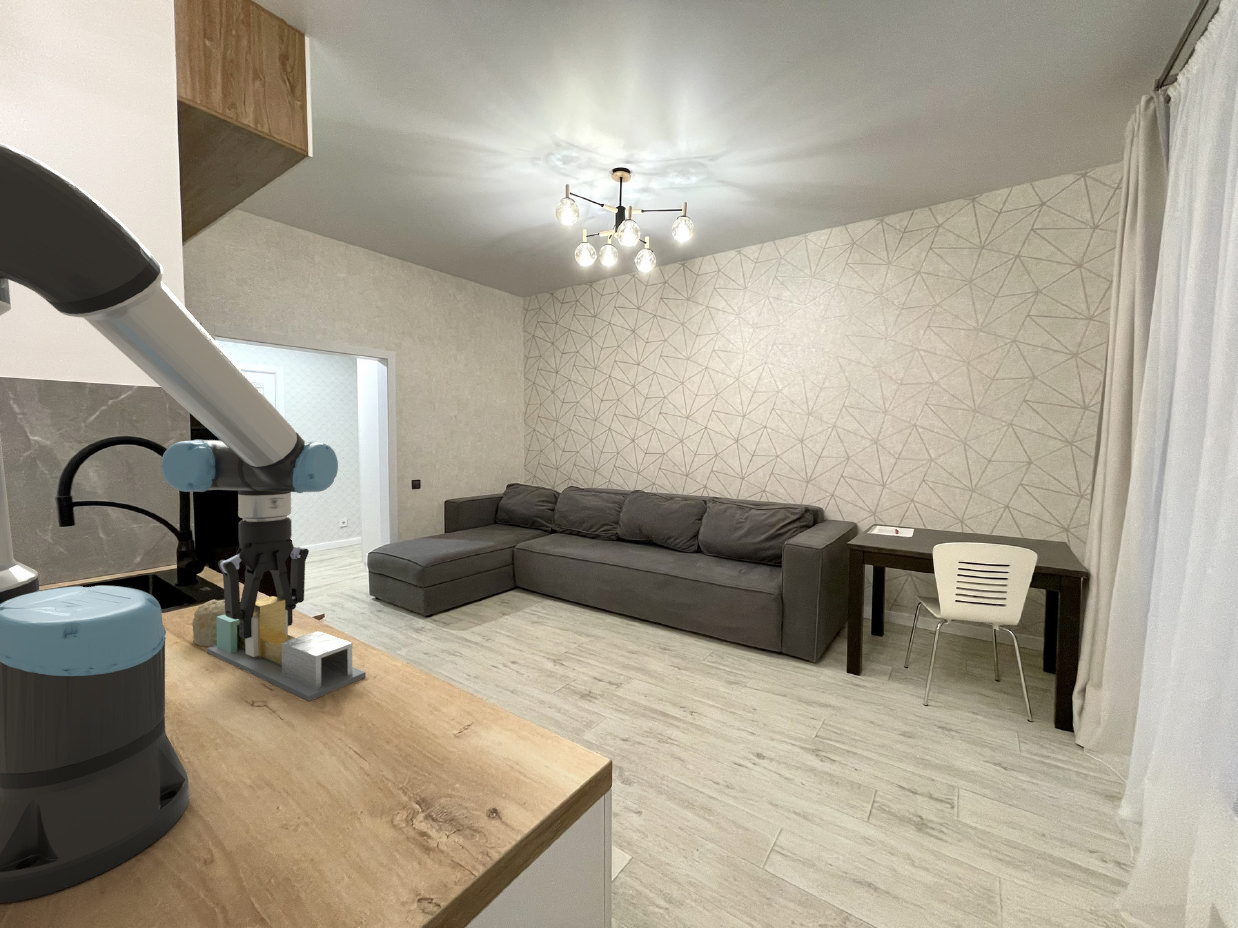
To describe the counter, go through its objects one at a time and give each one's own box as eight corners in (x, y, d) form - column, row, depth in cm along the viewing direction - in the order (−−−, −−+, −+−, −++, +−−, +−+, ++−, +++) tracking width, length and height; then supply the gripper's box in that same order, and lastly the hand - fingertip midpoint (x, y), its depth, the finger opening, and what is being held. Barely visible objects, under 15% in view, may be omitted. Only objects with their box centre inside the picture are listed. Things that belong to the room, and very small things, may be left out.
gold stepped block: (293, 672, 81) (292, 617, 80) (231, 645, 91) (230, 596, 90) (318, 663, 84) (317, 610, 84) (256, 638, 94) (255, 590, 94)
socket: (230, 653, 88) (230, 622, 88) (216, 647, 90) (216, 616, 90) (273, 640, 94) (272, 611, 94) (259, 634, 96) (258, 606, 96)
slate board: (309, 701, 74) (309, 695, 74) (207, 652, 90) (206, 648, 90) (365, 676, 82) (365, 672, 82) (262, 636, 98) (262, 632, 98)
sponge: (221, 649, 101) (185, 612, 98) (268, 617, 104) (234, 580, 101) (206, 668, 92) (165, 628, 90) (257, 633, 96) (219, 593, 93)
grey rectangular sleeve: (316, 689, 76) (315, 656, 76) (281, 674, 81) (281, 642, 81) (352, 674, 81) (352, 642, 81) (318, 660, 86) (318, 630, 86)
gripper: (217, 526, 78) (220, 674, 79) (327, 514, 93) (328, 638, 94) (195, 522, 82) (198, 663, 83) (304, 510, 97) (305, 630, 98)
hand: (267, 649), depth 88 cm, fingers closed on gold stepped block, 4 cm apart
